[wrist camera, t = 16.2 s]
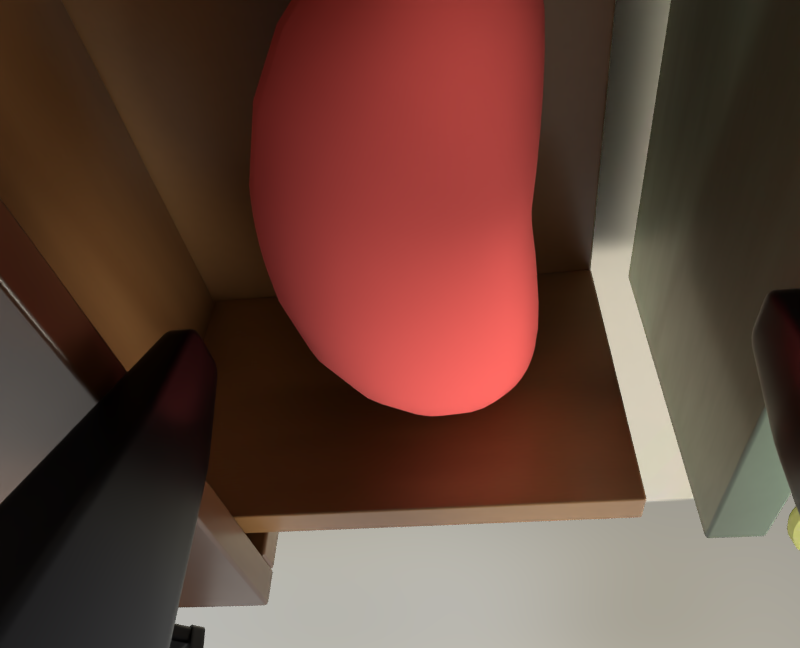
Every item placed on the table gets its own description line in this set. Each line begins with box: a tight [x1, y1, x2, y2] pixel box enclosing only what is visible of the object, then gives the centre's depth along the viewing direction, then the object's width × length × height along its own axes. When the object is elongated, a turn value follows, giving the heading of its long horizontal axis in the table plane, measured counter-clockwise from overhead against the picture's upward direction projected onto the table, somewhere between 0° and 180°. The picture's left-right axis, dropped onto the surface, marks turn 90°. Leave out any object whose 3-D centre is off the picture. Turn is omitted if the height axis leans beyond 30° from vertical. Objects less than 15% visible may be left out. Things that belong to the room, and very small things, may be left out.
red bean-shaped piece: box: [249, 0, 545, 416], centre depth 12 cm, size 5×9×6 cm, turn 3°
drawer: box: [0, 0, 800, 538], centre depth 12 cm, size 18×13×8 cm
